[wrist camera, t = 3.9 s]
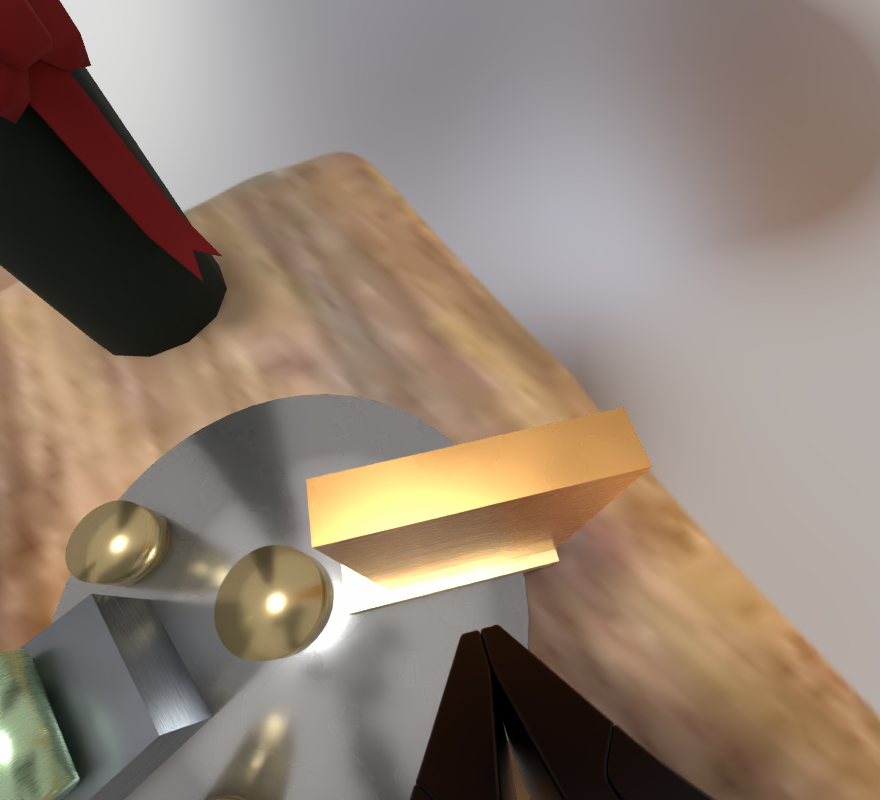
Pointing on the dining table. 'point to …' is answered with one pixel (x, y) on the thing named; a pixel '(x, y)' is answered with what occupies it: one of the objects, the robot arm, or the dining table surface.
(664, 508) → the dining table surface
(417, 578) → the lever
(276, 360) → the dining table surface
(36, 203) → the wine bottle
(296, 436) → the levelling plate
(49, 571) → the dining table surface
